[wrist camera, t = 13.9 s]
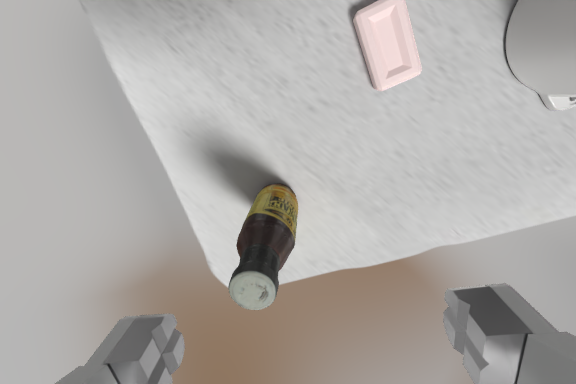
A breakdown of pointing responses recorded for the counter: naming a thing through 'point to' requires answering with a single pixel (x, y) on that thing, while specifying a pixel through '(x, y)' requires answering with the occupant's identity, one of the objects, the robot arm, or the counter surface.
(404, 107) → the counter surface
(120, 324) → the robot arm
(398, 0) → the soap bar
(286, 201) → the sauce bottle
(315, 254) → the counter surface
